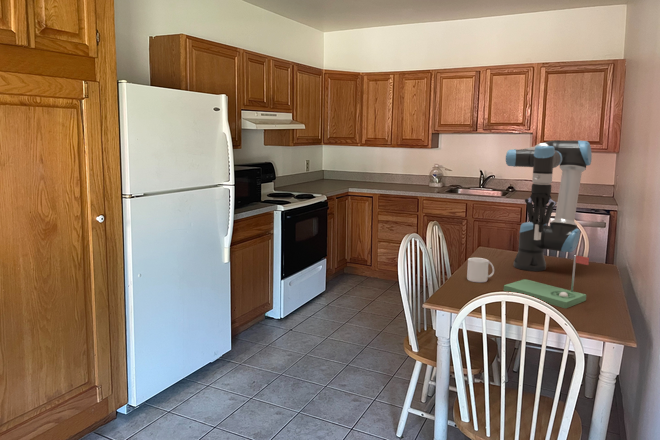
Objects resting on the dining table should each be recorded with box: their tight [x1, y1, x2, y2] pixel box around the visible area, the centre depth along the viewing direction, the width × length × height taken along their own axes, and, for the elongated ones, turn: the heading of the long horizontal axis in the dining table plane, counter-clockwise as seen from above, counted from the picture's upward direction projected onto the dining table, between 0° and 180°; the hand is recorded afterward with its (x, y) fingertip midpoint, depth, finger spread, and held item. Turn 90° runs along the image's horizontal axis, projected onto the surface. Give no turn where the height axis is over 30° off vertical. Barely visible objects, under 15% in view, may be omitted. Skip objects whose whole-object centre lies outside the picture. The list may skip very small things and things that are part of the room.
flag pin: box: [570, 254, 590, 292], centre depth 200 cm, size 6×1×18 cm, turn 37°
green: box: [503, 278, 587, 309], centre depth 205 cm, size 27×16×2 cm, turn 37°
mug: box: [466, 257, 495, 283], centre depth 226 cm, size 12×9×9 cm
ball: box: [559, 292, 568, 297], centre depth 199 cm, size 4×4×4 cm
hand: (537, 239), depth 208 cm, fingers closed
